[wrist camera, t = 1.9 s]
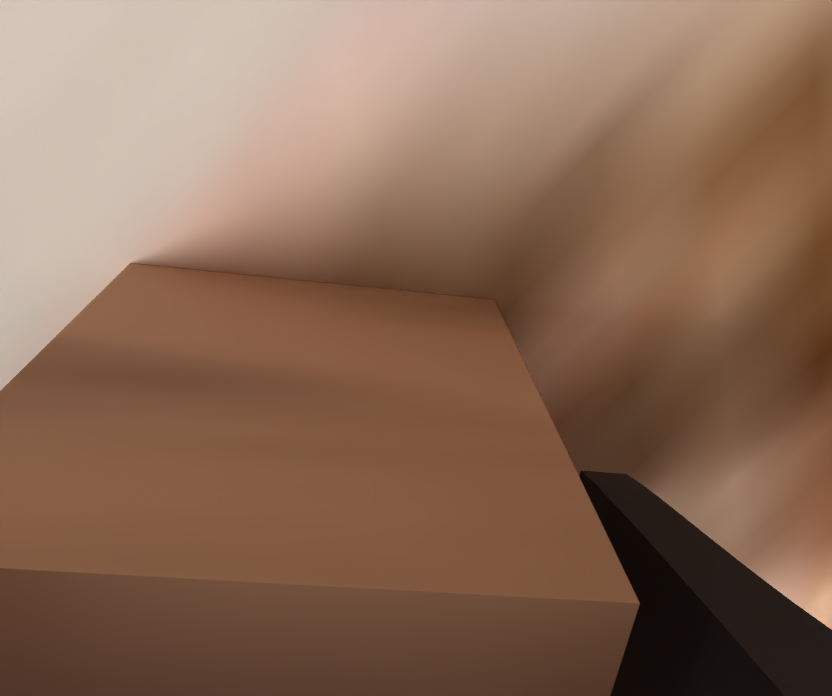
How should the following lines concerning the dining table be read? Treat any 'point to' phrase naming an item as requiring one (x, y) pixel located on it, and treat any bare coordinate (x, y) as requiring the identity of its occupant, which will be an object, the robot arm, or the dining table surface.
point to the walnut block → (295, 502)
